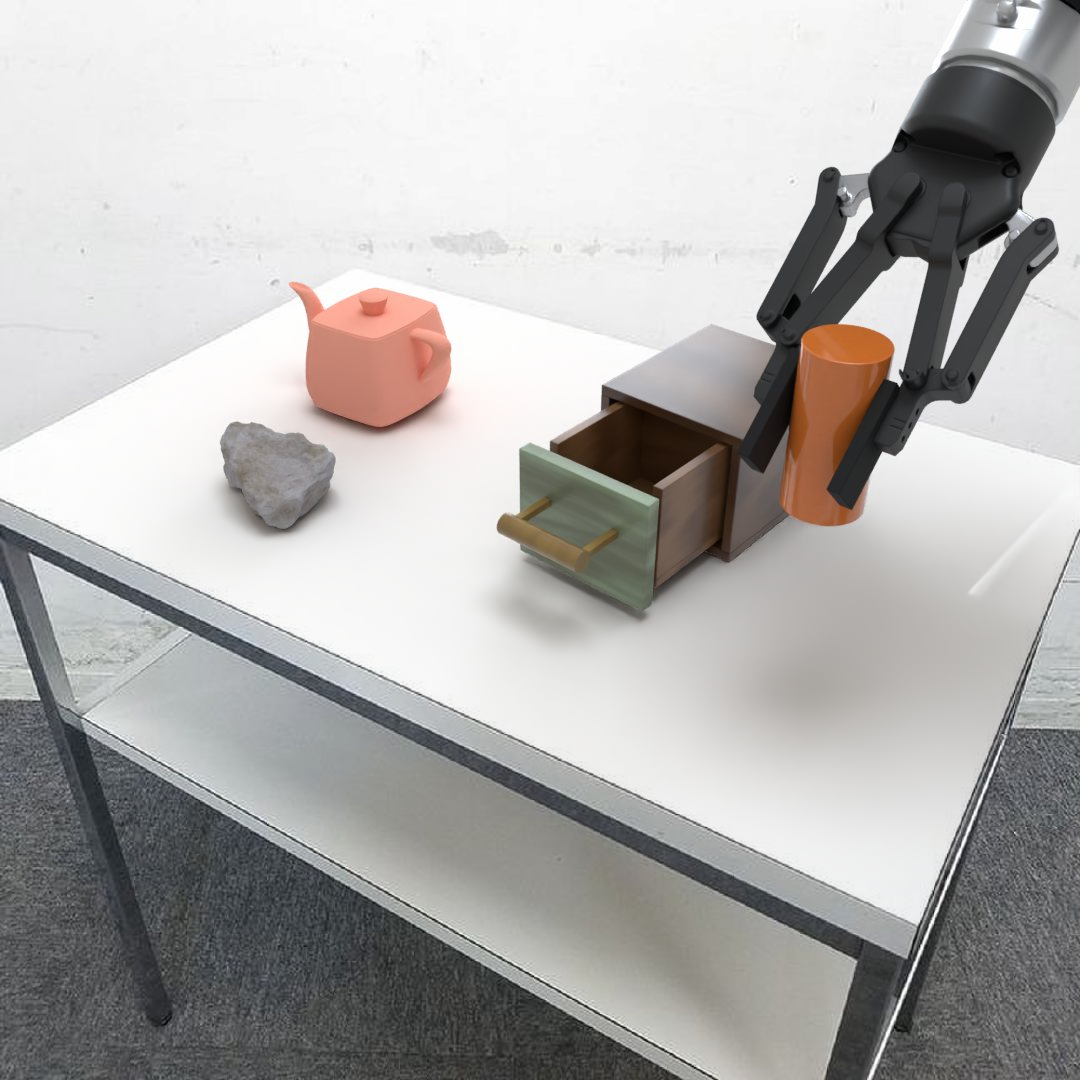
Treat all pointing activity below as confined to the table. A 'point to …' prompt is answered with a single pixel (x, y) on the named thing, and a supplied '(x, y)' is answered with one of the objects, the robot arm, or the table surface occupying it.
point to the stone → (276, 471)
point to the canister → (830, 416)
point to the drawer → (621, 501)
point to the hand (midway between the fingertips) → (793, 480)
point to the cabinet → (713, 418)
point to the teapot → (374, 354)
